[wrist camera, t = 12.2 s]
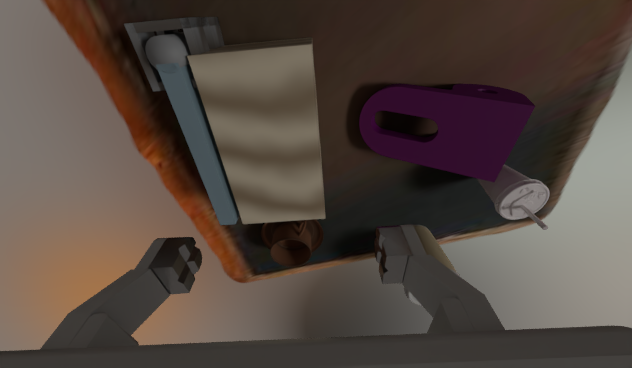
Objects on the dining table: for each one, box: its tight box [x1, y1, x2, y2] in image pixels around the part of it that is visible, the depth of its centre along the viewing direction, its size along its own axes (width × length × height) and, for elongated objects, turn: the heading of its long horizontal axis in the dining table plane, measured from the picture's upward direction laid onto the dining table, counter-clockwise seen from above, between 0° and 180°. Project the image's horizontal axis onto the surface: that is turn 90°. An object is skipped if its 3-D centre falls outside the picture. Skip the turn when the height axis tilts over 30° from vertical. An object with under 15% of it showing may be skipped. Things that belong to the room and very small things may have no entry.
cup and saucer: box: [261, 219, 323, 267], centre depth 47 cm, size 12×12×6 cm
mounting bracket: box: [359, 84, 535, 182], centre depth 35 cm, size 10×9×19 cm
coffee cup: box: [404, 225, 460, 306], centre depth 46 cm, size 9×9×12 cm
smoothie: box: [477, 165, 549, 230], centre depth 36 cm, size 6×6×14 cm
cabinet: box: [124, 17, 325, 224], centre depth 33 cm, size 25×17×9 cm
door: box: [145, 32, 240, 225], centre depth 33 cm, size 23×4×10 cm, turn 5°
